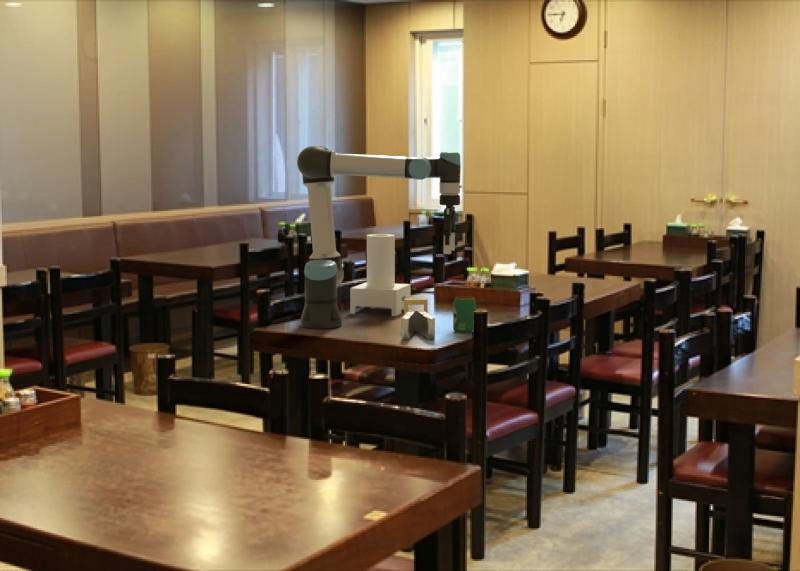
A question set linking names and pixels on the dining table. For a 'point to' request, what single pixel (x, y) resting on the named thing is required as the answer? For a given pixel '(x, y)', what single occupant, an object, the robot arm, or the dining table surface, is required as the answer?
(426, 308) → the tan flat upright block
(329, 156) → the robot arm
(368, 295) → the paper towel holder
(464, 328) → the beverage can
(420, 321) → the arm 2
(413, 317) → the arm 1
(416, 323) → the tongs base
